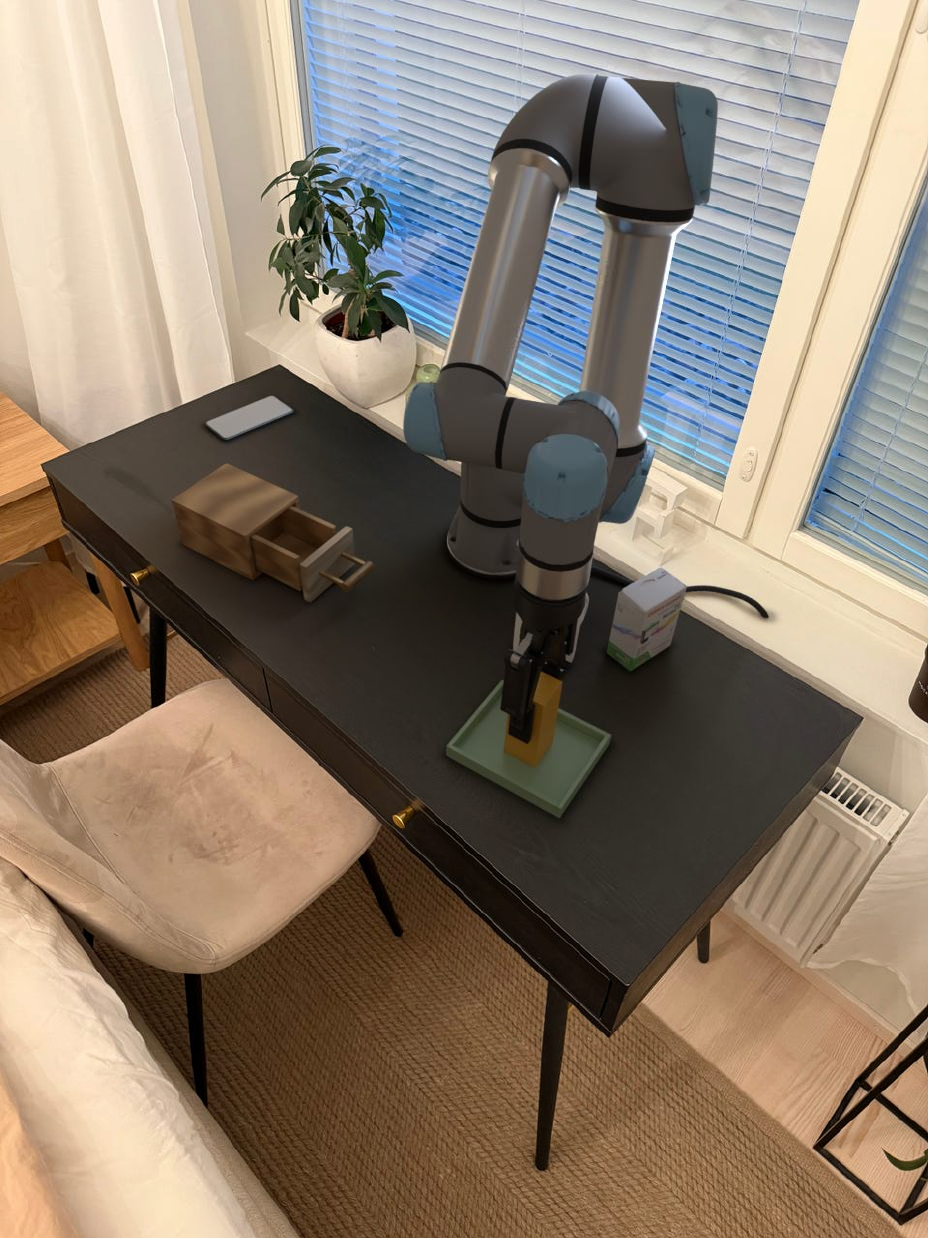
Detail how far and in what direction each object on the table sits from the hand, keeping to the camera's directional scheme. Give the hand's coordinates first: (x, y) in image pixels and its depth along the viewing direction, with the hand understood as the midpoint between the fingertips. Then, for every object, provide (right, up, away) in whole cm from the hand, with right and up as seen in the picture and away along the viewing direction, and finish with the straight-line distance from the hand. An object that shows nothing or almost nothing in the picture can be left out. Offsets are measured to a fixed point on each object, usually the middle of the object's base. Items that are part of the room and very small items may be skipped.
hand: (532, 719), depth 108 cm
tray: (0, -4, +4) cm, 6 cm away
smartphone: (-48, +49, +56) cm, 88 cm away
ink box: (+16, +8, +17) cm, 25 cm away
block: (0, -4, +4) cm, 6 cm away
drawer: (-31, +19, +25) cm, 44 cm away
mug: (+4, +8, +17) cm, 19 cm away
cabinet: (-43, +24, +31) cm, 58 cm away
